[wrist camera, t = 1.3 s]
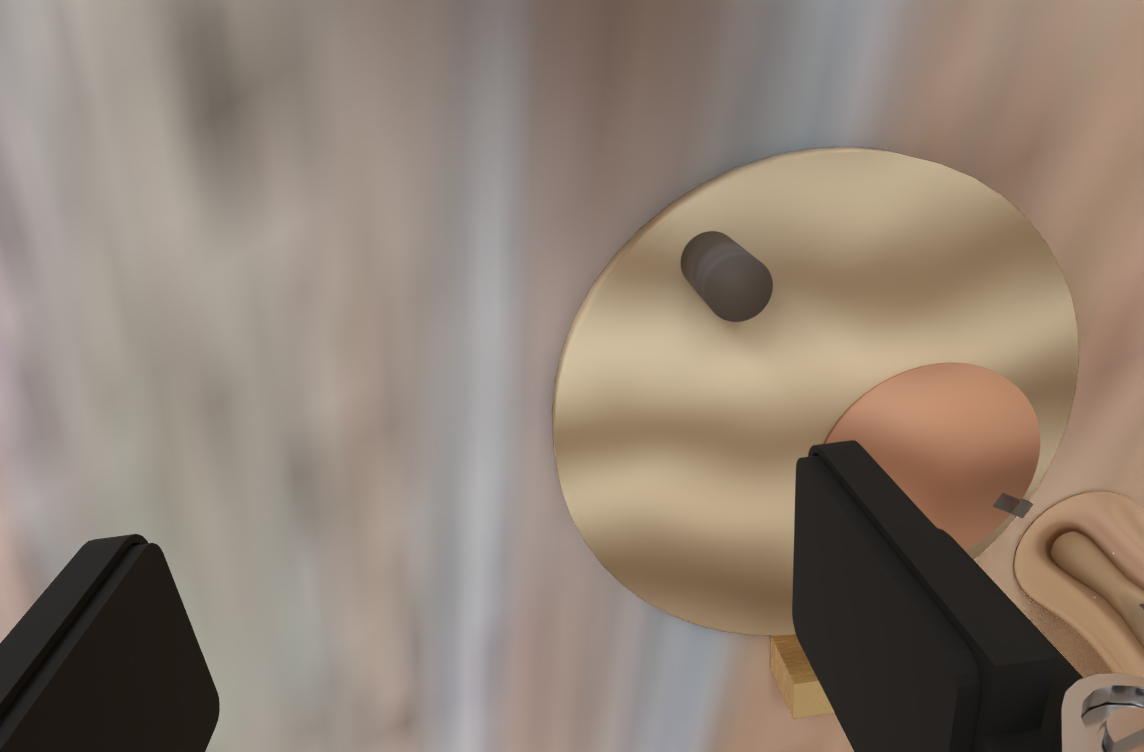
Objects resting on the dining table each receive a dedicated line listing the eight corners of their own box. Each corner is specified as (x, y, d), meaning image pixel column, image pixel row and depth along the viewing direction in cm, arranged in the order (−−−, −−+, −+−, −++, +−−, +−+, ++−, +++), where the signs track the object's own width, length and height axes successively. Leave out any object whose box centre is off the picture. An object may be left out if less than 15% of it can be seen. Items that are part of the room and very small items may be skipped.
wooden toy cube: (770, 634, 34) (794, 684, 32) (821, 627, 35) (849, 676, 32) (770, 667, 35) (793, 718, 32) (820, 660, 35) (847, 711, 33)
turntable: (520, 182, 25) (524, 209, 21) (1092, 115, 26) (1218, 127, 21) (578, 640, 33) (590, 733, 29) (1015, 578, 34) (1095, 659, 29)
